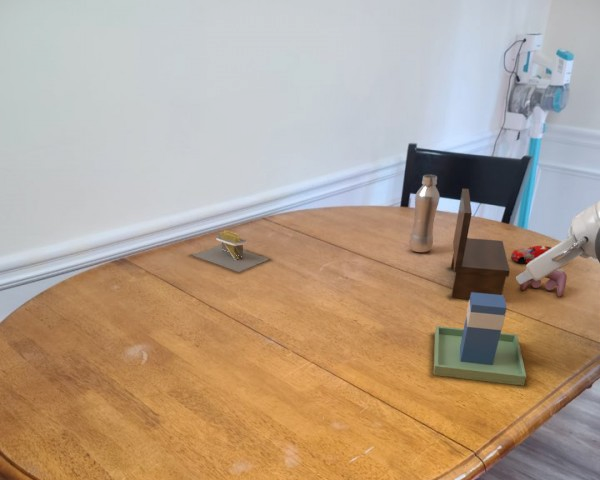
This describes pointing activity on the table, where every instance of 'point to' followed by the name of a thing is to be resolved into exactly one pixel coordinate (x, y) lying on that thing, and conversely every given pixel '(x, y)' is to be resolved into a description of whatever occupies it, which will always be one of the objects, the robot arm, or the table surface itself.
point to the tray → (502, 371)
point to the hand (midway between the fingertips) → (529, 273)
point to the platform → (231, 253)
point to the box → (482, 328)
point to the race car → (528, 253)
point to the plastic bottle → (424, 215)
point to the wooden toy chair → (476, 258)
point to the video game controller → (550, 282)
